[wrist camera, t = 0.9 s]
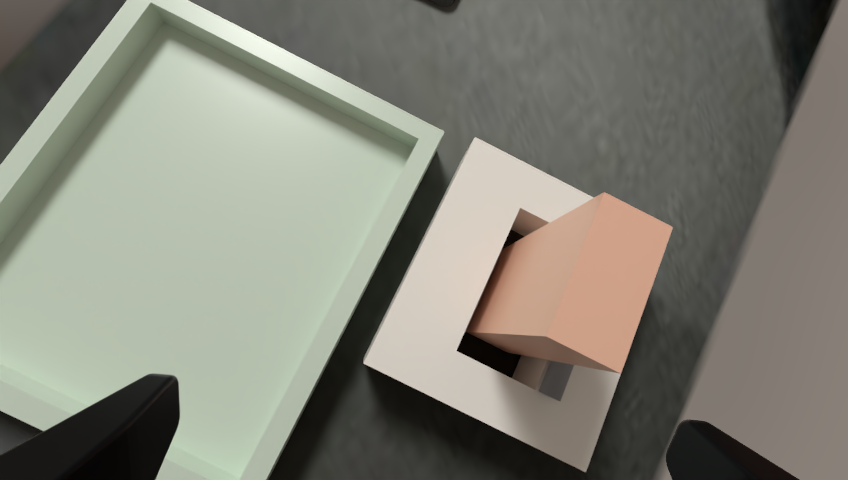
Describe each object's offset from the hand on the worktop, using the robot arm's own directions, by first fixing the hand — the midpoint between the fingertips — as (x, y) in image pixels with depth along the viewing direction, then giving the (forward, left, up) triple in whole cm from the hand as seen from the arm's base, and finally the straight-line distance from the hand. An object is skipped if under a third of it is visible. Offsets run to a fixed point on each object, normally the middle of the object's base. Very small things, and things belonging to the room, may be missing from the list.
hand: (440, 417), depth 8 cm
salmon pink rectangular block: (+5, -4, -16) cm, 17 cm away
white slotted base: (+5, -4, -16) cm, 17 cm away
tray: (+1, +11, -16) cm, 19 cm away
